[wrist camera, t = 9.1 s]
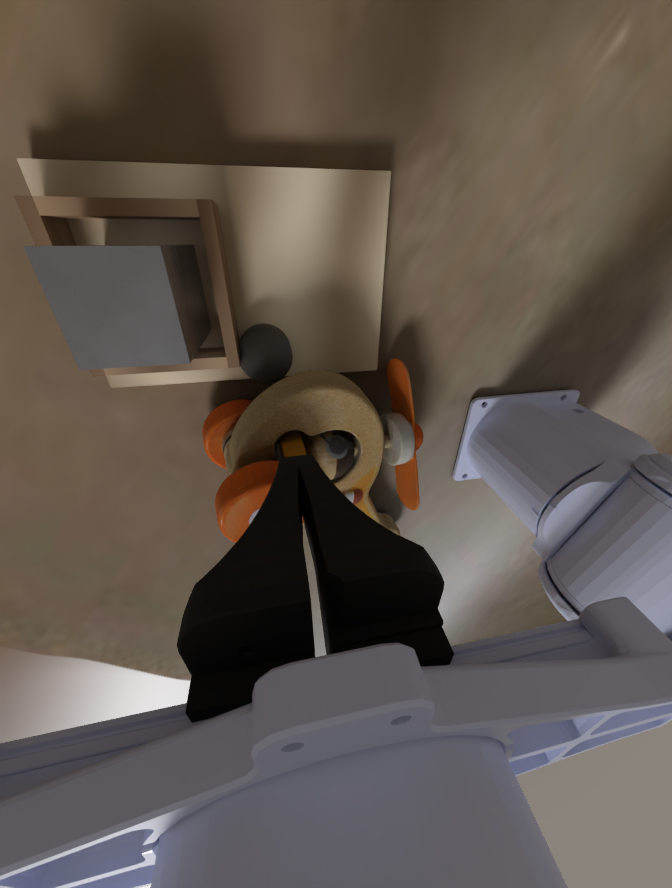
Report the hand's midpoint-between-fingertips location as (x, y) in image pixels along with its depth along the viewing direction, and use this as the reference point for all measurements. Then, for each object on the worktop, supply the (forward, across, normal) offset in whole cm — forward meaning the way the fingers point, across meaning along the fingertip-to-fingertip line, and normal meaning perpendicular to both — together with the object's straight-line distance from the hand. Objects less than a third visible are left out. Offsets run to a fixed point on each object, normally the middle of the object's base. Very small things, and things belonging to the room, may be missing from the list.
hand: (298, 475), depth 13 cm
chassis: (+10, +2, -6) cm, 12 cm away
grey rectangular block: (+9, +6, -6) cm, 12 cm away
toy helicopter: (+6, +2, +10) cm, 11 cm away
